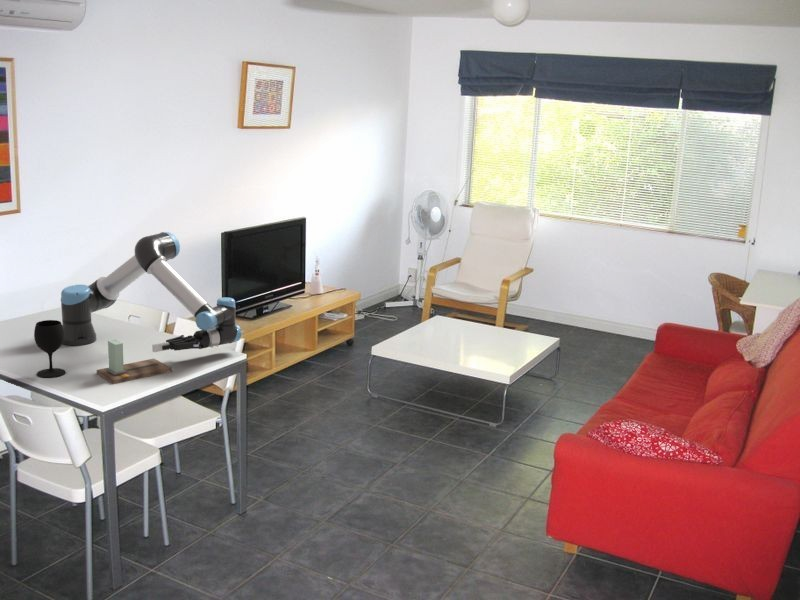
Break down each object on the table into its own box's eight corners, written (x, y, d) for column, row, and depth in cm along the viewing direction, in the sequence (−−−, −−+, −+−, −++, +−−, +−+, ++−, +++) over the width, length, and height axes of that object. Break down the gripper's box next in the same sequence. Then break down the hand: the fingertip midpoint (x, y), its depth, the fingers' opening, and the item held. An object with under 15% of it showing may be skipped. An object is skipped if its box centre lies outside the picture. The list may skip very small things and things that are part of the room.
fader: (114, 375, 314) (113, 345, 311) (105, 370, 318) (104, 341, 316) (126, 372, 317) (125, 343, 314) (118, 367, 322) (117, 338, 319)
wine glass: (62, 378, 314) (59, 327, 309) (33, 378, 312) (30, 327, 307) (68, 369, 323) (66, 319, 319) (40, 369, 322) (37, 319, 317)
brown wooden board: (113, 383, 310) (113, 379, 310) (96, 373, 320) (96, 369, 319) (171, 371, 327) (171, 367, 326) (154, 362, 336) (153, 358, 336)
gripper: (214, 351, 339) (161, 361, 323) (197, 343, 348) (145, 353, 332) (214, 333, 338) (161, 343, 321) (197, 326, 347) (145, 335, 330)
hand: (153, 348), depth 327 cm, fingers closed
